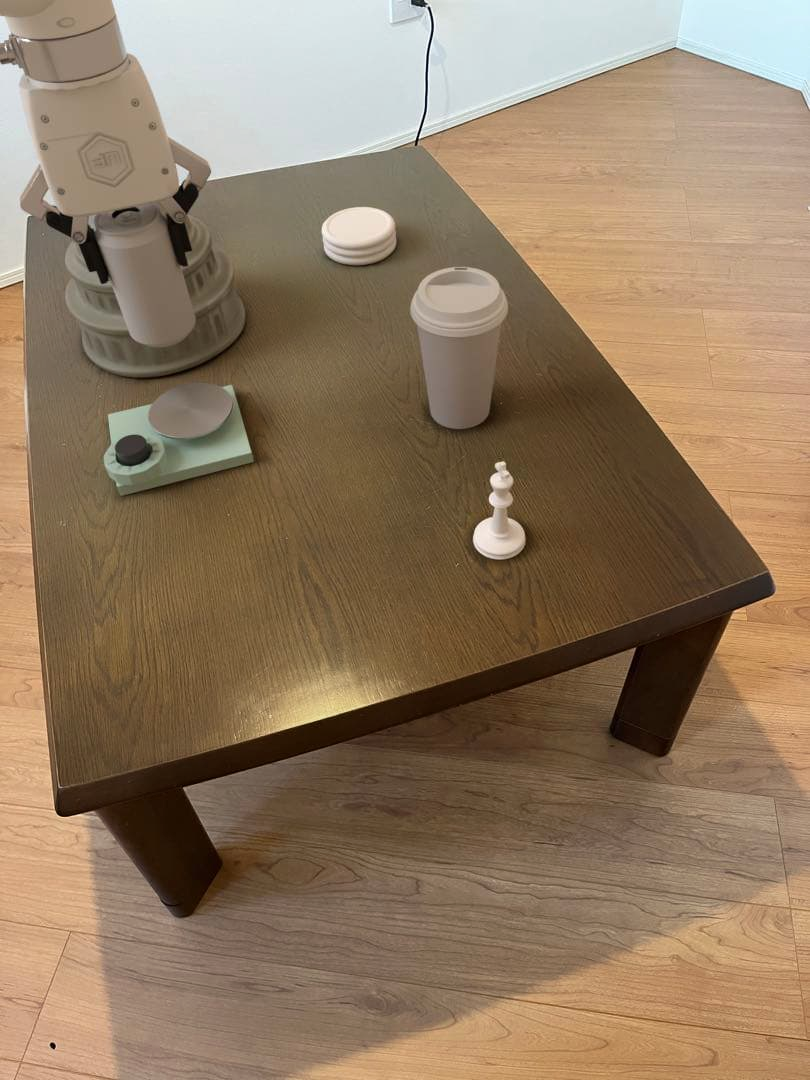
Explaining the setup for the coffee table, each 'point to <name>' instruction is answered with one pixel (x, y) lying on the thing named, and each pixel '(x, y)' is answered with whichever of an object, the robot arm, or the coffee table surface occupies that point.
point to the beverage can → (145, 274)
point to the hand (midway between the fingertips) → (143, 265)
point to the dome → (209, 298)
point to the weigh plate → (190, 410)
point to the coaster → (359, 236)
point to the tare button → (132, 450)
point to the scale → (175, 450)
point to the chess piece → (499, 521)
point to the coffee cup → (459, 342)
